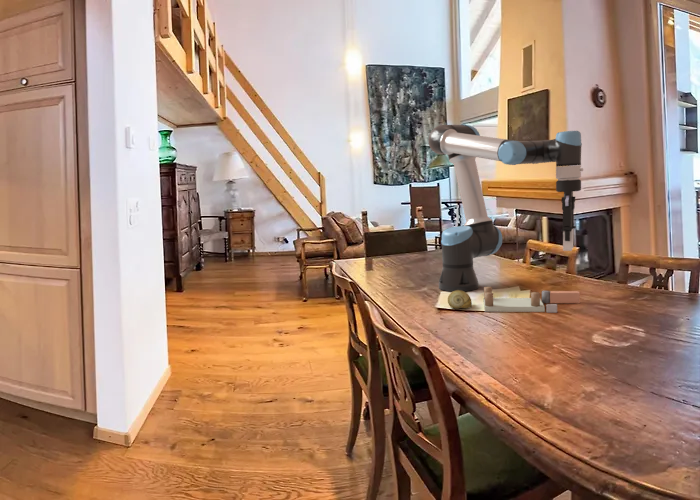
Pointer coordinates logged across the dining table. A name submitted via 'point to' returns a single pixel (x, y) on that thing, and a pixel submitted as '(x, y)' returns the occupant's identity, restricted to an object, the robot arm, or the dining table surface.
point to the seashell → (459, 300)
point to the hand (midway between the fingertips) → (568, 249)
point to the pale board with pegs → (515, 303)
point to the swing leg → (560, 297)
